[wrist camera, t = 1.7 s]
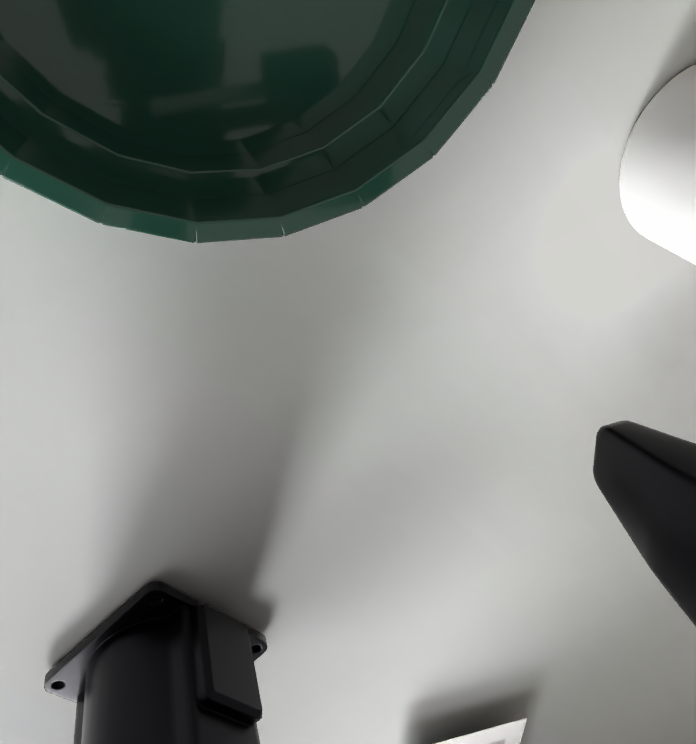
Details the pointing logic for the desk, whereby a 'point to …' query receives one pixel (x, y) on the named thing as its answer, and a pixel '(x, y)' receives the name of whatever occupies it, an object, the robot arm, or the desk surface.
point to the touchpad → (493, 735)
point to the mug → (664, 168)
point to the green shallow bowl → (237, 104)
